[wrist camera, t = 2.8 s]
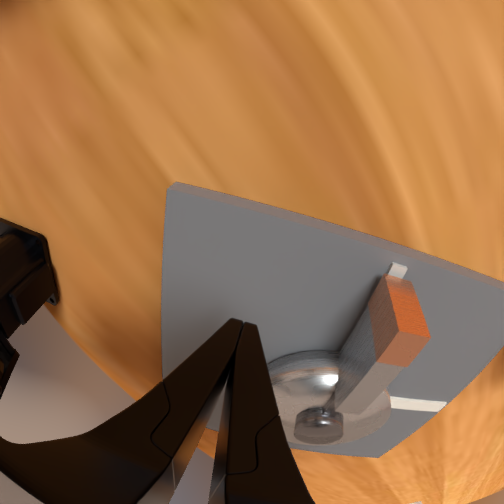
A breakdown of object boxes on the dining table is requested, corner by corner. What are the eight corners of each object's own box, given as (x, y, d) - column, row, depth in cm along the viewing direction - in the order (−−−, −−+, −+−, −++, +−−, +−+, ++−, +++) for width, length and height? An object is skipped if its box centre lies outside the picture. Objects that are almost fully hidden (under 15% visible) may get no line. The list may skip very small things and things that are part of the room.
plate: (168, 405, 26) (163, 415, 25) (176, 181, 14) (165, 190, 13) (378, 449, 25) (378, 459, 24) (529, 292, 13) (537, 304, 12)
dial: (351, 429, 20) (350, 470, 17) (242, 408, 21) (231, 451, 18) (466, 296, 13) (491, 350, 9) (305, 248, 13) (300, 306, 10)
